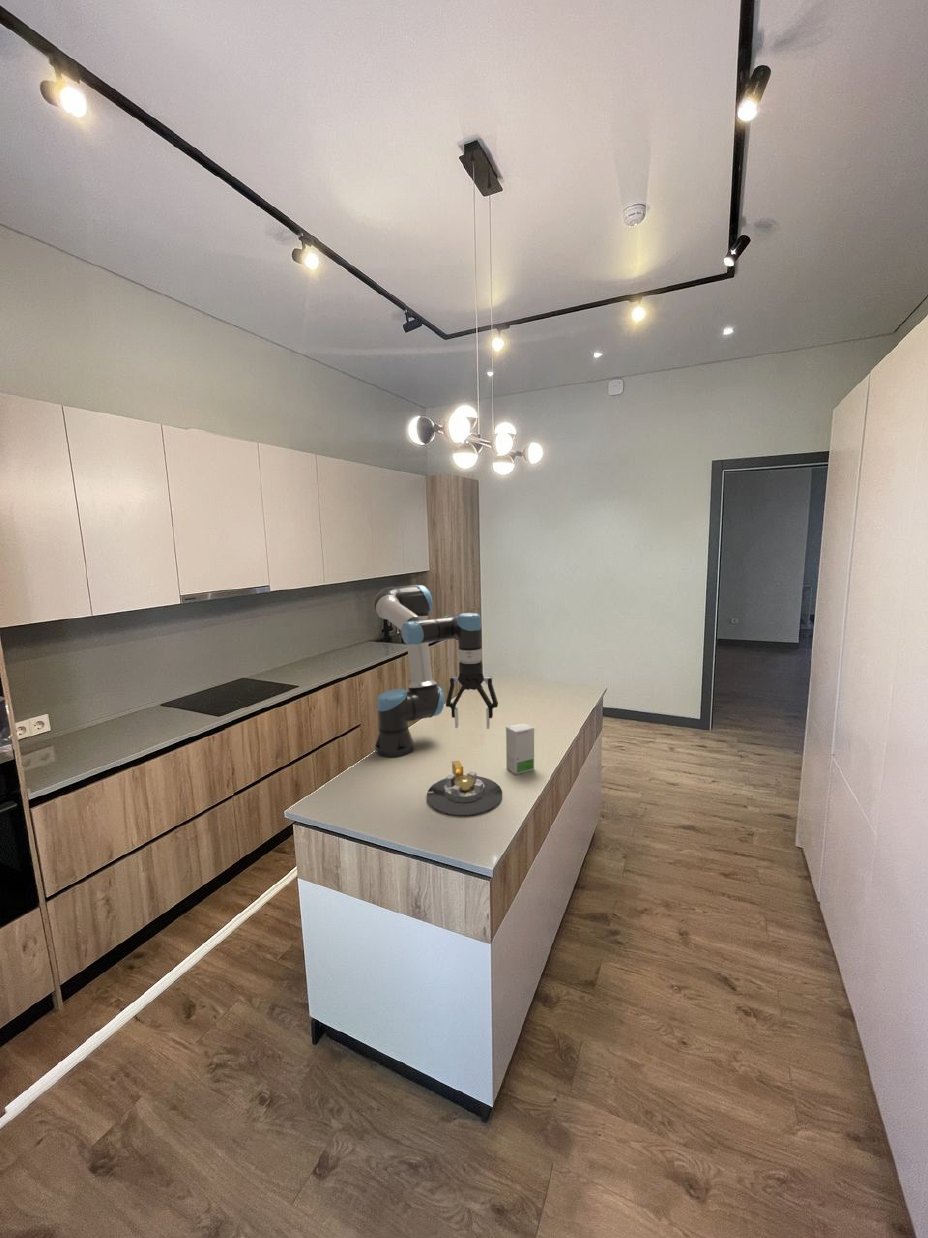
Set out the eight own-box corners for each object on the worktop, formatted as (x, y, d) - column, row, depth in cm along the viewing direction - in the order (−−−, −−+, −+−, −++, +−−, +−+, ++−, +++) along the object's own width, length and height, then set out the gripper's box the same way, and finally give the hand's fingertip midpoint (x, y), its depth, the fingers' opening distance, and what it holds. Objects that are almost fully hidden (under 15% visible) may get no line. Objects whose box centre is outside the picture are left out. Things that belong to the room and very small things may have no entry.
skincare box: (515, 775, 166) (514, 732, 164) (505, 768, 172) (504, 726, 169) (535, 769, 170) (535, 727, 167) (524, 762, 176) (524, 721, 173)
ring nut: (489, 798, 149) (489, 780, 148) (450, 805, 145) (449, 786, 144) (473, 774, 165) (473, 758, 164) (437, 780, 161) (437, 763, 160)
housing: (416, 812, 145) (415, 795, 144) (439, 775, 168) (438, 760, 167) (494, 820, 139) (494, 802, 138) (507, 781, 162) (507, 765, 161)
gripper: (434, 663, 153) (437, 730, 157) (504, 664, 150) (505, 732, 153) (438, 658, 161) (441, 722, 164) (505, 658, 158) (506, 723, 161)
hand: (472, 727), depth 159 cm, fingers open, 10 cm apart
